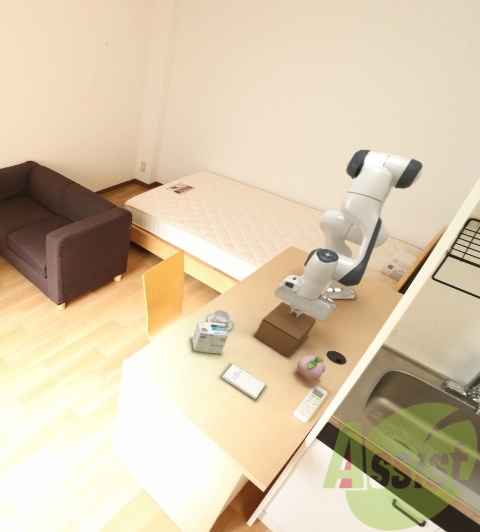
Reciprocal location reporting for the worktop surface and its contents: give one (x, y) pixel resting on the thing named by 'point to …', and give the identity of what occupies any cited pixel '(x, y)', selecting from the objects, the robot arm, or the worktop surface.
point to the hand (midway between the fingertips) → (294, 314)
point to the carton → (281, 333)
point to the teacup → (221, 318)
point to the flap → (301, 319)
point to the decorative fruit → (311, 367)
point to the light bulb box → (209, 337)
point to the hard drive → (244, 381)
